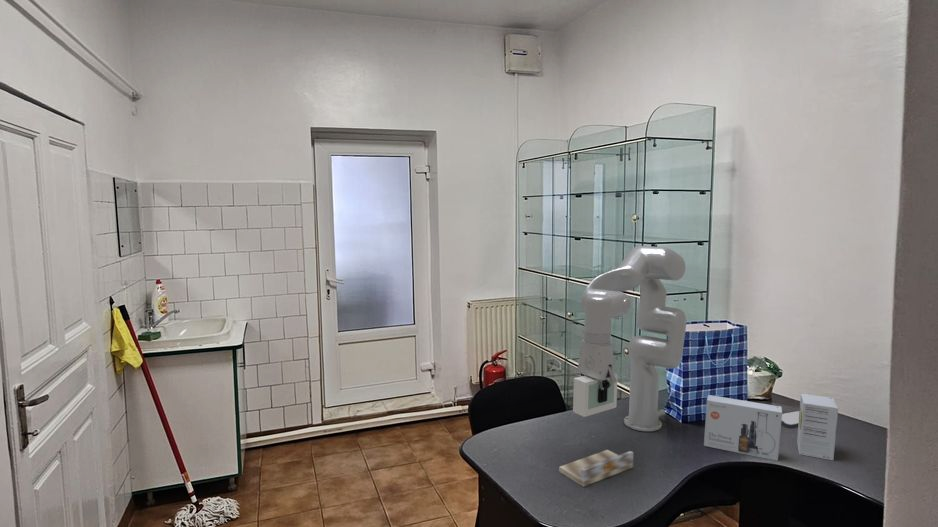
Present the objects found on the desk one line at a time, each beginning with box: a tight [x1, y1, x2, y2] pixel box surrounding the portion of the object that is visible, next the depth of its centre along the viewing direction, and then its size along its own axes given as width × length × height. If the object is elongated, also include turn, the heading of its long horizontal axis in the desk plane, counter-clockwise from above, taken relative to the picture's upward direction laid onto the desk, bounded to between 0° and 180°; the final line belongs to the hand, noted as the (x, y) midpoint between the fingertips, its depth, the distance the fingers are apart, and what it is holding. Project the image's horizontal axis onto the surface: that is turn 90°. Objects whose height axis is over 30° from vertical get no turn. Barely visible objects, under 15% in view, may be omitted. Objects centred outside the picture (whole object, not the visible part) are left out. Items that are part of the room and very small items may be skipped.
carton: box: [572, 372, 618, 418], centre depth 161 cm, size 5×13×10 cm, turn 123°
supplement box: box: [796, 393, 839, 461], centre depth 173 cm, size 10×9×17 cm
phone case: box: [781, 410, 800, 429], centre depth 198 cm, size 9×2×16 cm
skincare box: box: [703, 394, 783, 462], centre depth 174 cm, size 21×6×16 cm, turn 62°
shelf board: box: [558, 449, 634, 487], centre depth 163 cm, size 20×10×5 cm, turn 123°
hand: (595, 398), depth 161 cm, fingers closed on carton, 4 cm apart
